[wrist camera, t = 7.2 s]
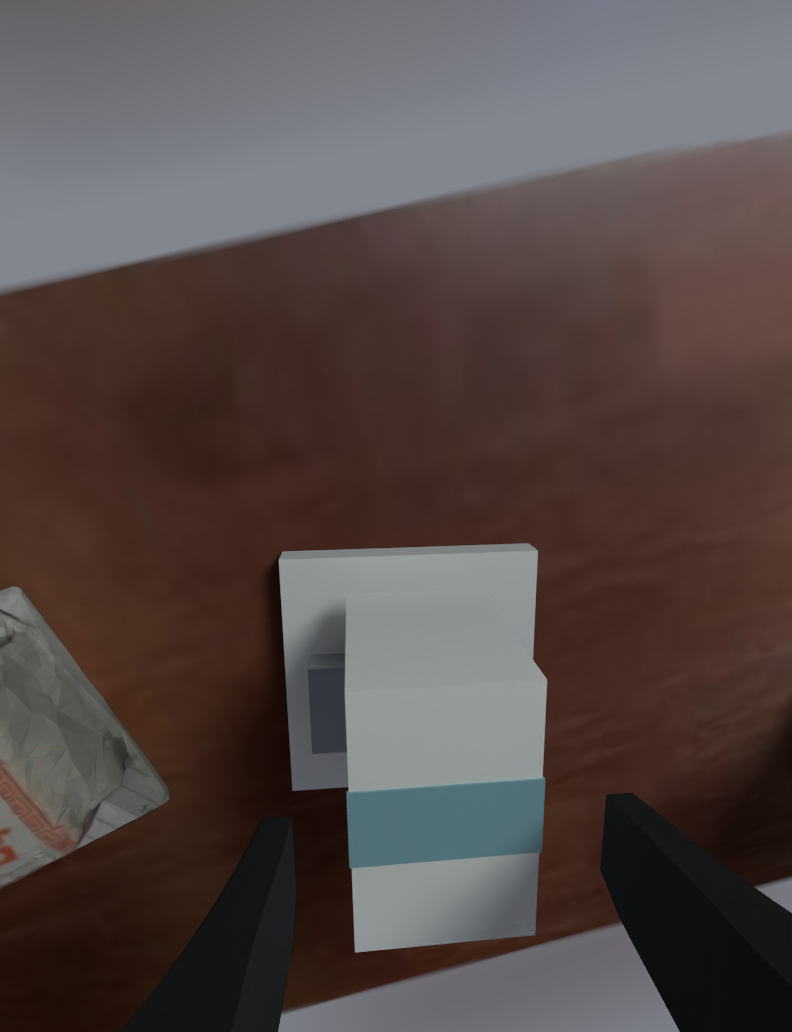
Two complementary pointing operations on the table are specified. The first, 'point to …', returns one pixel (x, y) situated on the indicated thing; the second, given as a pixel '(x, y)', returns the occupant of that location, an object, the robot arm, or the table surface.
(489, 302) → the table surface
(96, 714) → the packaged product
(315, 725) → the dark grey flat block
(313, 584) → the base
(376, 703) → the block
